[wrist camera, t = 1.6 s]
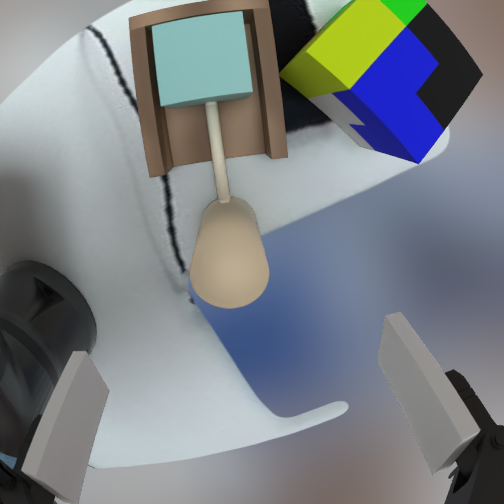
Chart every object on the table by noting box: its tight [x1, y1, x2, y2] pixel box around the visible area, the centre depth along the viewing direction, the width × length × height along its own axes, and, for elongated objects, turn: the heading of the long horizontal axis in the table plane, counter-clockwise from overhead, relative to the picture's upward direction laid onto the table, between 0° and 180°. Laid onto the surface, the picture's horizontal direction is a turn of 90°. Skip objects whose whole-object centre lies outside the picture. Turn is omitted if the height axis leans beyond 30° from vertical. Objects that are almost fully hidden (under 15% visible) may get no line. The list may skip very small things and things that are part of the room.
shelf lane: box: [129, 0, 288, 178], centre depth 21 cm, size 10×13×4 cm
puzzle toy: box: [279, 0, 483, 164], centre depth 19 cm, size 10×10×10 cm
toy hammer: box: [152, 11, 269, 308], centre depth 21 cm, size 6×20×10 cm, turn 7°
